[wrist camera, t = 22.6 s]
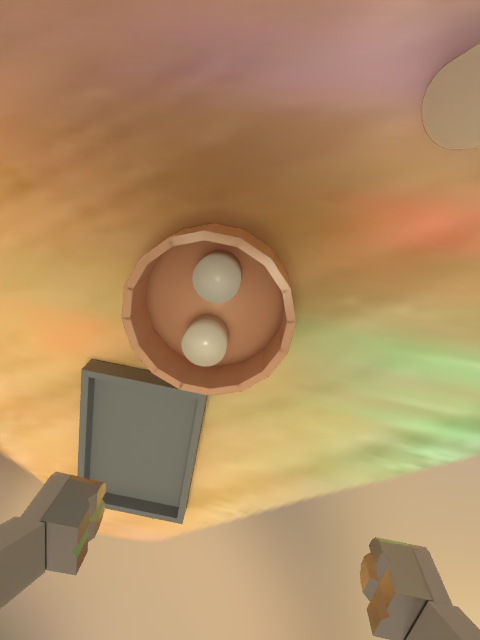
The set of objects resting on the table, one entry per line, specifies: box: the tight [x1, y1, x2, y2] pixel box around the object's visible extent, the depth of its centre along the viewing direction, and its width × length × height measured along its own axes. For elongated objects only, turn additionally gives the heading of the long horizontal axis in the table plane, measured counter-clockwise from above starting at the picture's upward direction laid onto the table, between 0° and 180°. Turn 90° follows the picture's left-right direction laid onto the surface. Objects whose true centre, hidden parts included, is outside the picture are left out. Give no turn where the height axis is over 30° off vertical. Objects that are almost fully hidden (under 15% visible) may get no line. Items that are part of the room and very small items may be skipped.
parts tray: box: [78, 359, 207, 524], centre depth 46 cm, size 14×20×2 cm
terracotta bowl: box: [122, 223, 296, 396], centre depth 37 cm, size 16×16×6 cm
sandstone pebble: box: [182, 314, 229, 367], centre depth 39 cm, size 4×4×3 cm
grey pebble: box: [192, 250, 242, 303], centre depth 36 cm, size 4×4×3 cm
